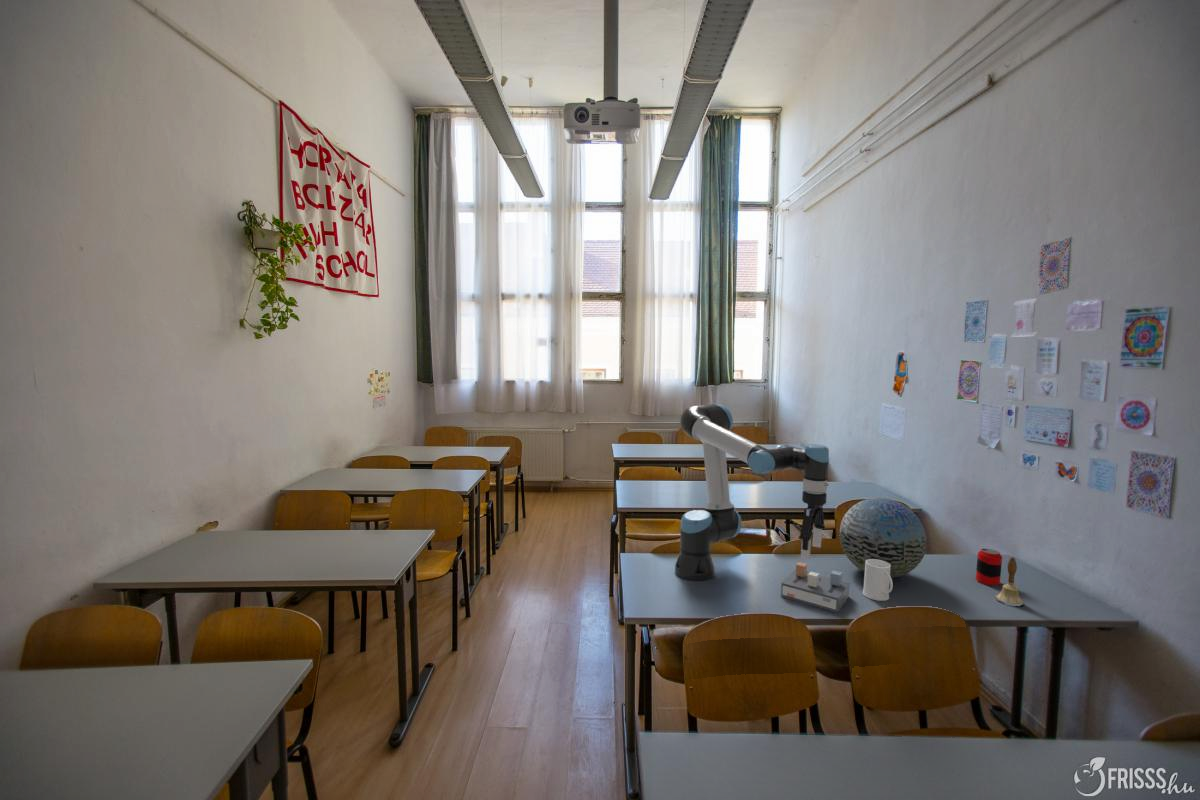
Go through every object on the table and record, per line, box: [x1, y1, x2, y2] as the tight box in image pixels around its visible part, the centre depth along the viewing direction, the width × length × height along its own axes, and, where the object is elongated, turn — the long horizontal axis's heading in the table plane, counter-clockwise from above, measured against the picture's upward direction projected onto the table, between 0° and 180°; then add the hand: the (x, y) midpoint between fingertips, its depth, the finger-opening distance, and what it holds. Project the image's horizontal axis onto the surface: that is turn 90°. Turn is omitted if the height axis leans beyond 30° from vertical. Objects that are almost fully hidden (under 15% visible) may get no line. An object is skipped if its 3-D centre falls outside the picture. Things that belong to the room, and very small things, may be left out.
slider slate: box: [829, 570, 843, 586], centre depth 196 cm, size 3×3×4 cm
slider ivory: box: [807, 571, 820, 587], centre depth 195 cm, size 3×3×4 cm
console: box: [780, 568, 850, 613], centre depth 197 cm, size 19×16×5 cm
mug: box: [862, 559, 894, 602], centre depth 197 cm, size 12×8×12 cm
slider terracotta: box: [795, 561, 808, 577], centre depth 203 cm, size 3×3×4 cm
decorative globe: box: [839, 497, 927, 579], centre depth 216 cm, size 30×30×30 cm
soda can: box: [975, 548, 1003, 586], centre depth 212 cm, size 8×8×12 cm
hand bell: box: [995, 556, 1024, 604], centre depth 195 cm, size 8×8×16 cm
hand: (811, 552), depth 189 cm, fingers open, 13 cm apart
